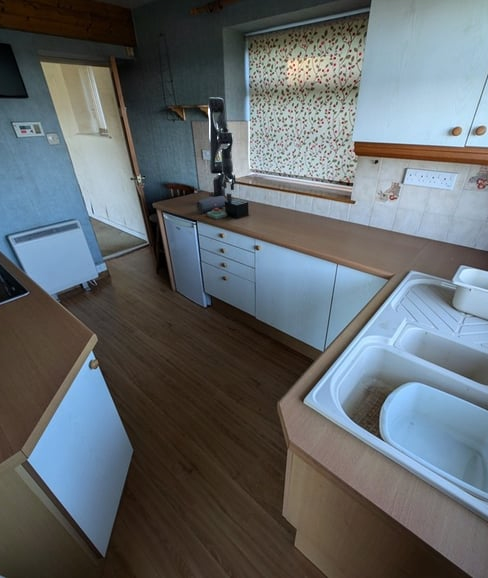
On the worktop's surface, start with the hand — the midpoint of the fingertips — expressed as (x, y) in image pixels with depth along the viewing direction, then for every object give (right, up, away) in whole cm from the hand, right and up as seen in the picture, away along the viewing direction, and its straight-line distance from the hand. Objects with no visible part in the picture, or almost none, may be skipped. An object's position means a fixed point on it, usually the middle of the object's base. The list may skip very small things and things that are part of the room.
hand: (228, 189), depth 210 cm
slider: (0, -7, +4) cm, 8 cm away
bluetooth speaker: (-14, -11, +19) cm, 26 cm away
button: (-10, -14, +6) cm, 18 cm away
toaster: (+5, -17, +9) cm, 20 cm away
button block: (-10, -17, +8) cm, 21 cm away
